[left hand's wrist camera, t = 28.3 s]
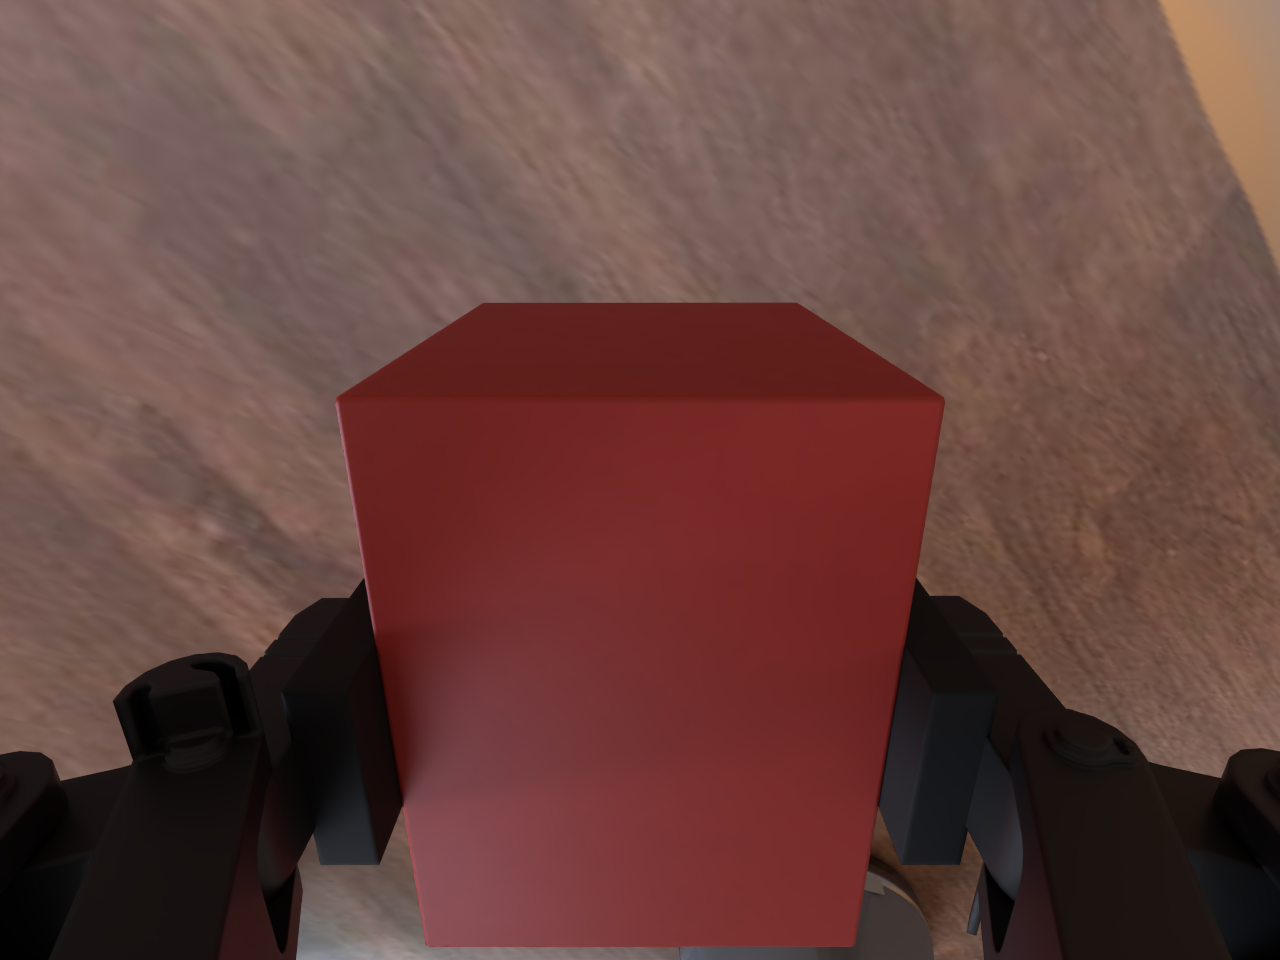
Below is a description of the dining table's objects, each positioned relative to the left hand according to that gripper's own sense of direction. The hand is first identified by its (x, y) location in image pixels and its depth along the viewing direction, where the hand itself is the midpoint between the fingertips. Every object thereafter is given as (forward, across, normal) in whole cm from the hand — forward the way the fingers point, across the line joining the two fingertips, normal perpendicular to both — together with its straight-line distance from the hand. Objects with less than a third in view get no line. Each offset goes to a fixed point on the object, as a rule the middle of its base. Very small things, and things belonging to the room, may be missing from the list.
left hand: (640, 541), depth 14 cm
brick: (+2, 0, 0) cm, 2 cm away
